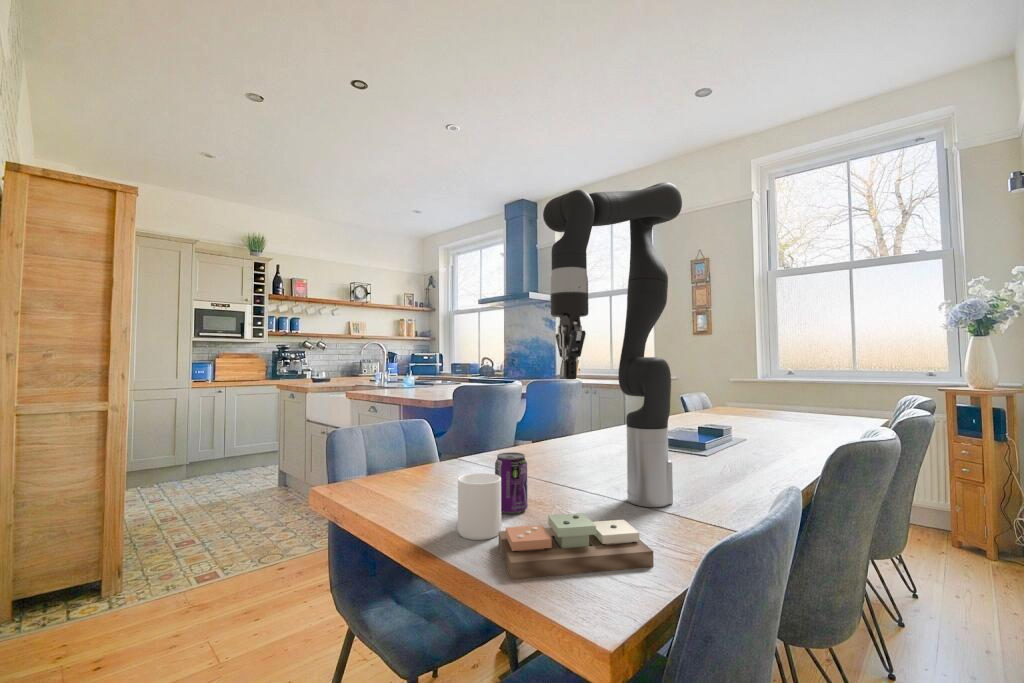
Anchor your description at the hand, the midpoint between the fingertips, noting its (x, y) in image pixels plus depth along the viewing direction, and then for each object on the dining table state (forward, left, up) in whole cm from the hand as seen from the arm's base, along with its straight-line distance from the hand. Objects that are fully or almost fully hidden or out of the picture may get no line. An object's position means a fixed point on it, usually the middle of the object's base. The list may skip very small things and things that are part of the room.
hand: (570, 379), depth 93 cm
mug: (+18, -2, -29) cm, 34 cm away
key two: (+4, +13, -27) cm, 30 cm away
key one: (-4, +13, -29) cm, 32 cm away
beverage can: (+10, -12, -29) cm, 33 cm away
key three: (+12, +13, -29) cm, 34 cm away
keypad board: (+4, +13, -29) cm, 32 cm away
